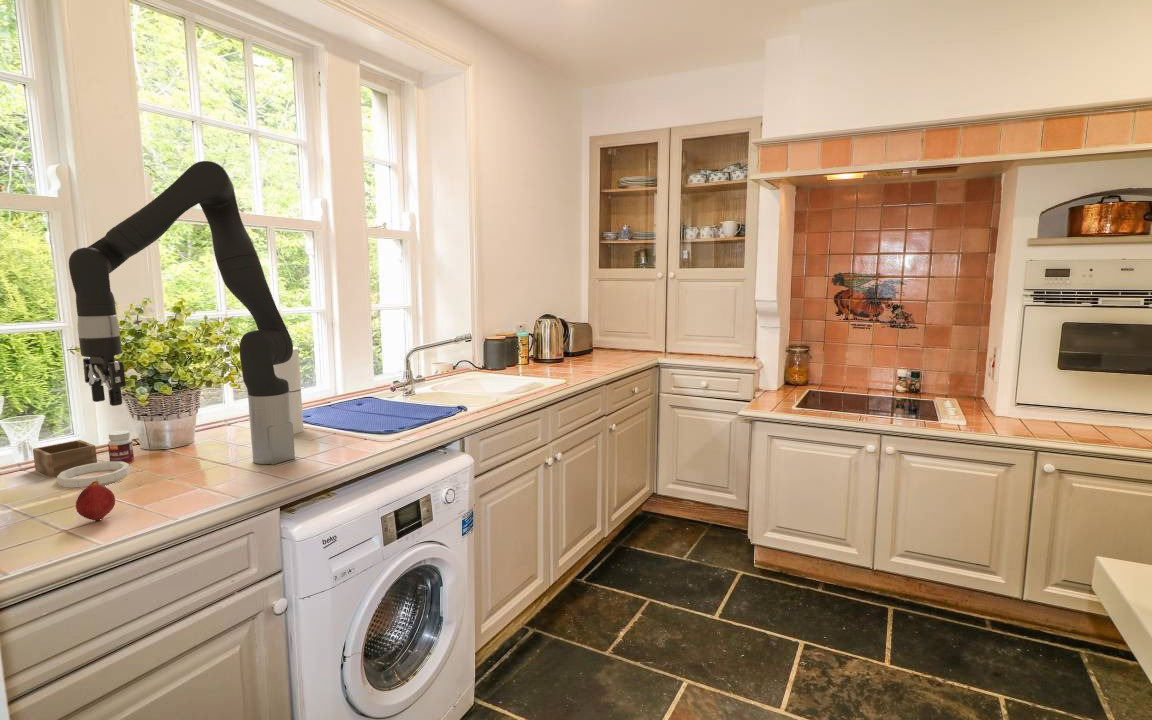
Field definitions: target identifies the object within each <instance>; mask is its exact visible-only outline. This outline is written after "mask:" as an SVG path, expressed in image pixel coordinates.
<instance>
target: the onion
mask: <svg viewBox="0 0 1152 720" xmlns="http://www.w3.org/2000/svg"><path fill="white" fill-rule="evenodd" d="M101 485H102V484H99V482H98V481H97V480H96V481H93V482H92V483H91V484H90V485H89V486H86V487H85V488H84V490H83V489H82V490H81V492H80V493H79V494H78V497H77V499H76V500H75V501H76V502H75V509H76V512H77V513H78V514H79V515H80V516H81V517H82V518H85V519H87V520H92V521H94V520H100V519H102V520H103V519H104V518H105V517H106V516H107V515H108V514H110V513H111V511H112V510H113V509H114V508H115V505H116V497H115V494H114V492H113V491H112V490H111V489H109V488H108V487H107V486H101ZM100 521H101V520H100Z"/></svg>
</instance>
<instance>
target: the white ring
mask: <svg viewBox="0 0 1152 720" xmlns="http://www.w3.org/2000/svg"><path fill="white" fill-rule="evenodd" d="M107 470H108V471H109V470H111V471H112V470H113V471H112V472H108V473H102V474H100V475H96V476H95V475H93V476H88V477H87V476H85V477H77V476H80V475H83V474H86V473H87V474H88V473H92V472H99V471H107ZM130 472H131V470H130V464H128V463H125V462H122V461H110V460H109V461H100V462H97V463H91V464H86V465H82V466H77V467H73V468H71V469H68V470H65V471H63V472H61V473H60V474H59V475H58V476H56V480H57V485H59V486H61V487H63V488H83V487H85V488H86V487H88V486H89V485H90V484H91V483H92V482H93V481H96V480H97V481H98V482H99V485H101V486H104V487H106V486H105V485H108V486H110V485H109V484H112V483H115V482H118V481H120V480H121V479H122V478H125V477H128V475H129V473H130ZM118 483H119V482H118ZM115 484H116V483H115ZM112 485H113V484H112Z"/></svg>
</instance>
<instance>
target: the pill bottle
mask: <svg viewBox="0 0 1152 720" xmlns="http://www.w3.org/2000/svg"><path fill="white" fill-rule="evenodd" d="M130 433H131V432H130V431H129V430H118V431H117V430H116V431H113V432H110V433H108V439H109V441H108V443H107V446H108V447H107V448H108V454H109V455H108V456H109V461H122V462H125V463H128V464H129V465H130V464H132V463H134V462H135V456H134V448H133V447H134V446H133V440H132V438H130V437H131V435H130Z"/></svg>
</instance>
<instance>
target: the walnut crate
mask: <svg viewBox="0 0 1152 720" xmlns="http://www.w3.org/2000/svg"><path fill="white" fill-rule="evenodd" d="M96 448H97V447H96V445H94V444H92V443H89V442H87V441H84V440H82V439H77V440H72V441H66V442H61V443H56V444H51V445H46V446H40V447H36V448H32V454H33V455H32V456H33V463H34V469H35V471H36V472H38V473H39V474H42V475H44V476H45V477H48V478H54V477H57V476H58V475H59V474H60V473H61V472H63V471H65V470H68V469H71V468H73V467H77V466H82V465H86V464H91V463H98V458H97V457H98V456H97V449H96Z"/></svg>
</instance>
